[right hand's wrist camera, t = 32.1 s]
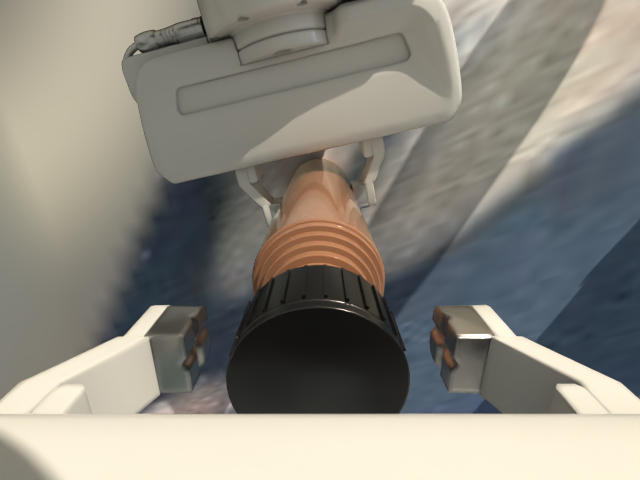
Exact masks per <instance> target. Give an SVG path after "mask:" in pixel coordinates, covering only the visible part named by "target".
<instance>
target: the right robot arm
mask: <svg viewBox="0 0 640 480" xmlns="http://www.w3.org/2000/svg"><path fill="white" fill-rule="evenodd" d="M207 319H208V318H207V312H206V309H205V307H204V306H178V305H171V306H170V305H154V306H151V307H150V308H149V309H148V310H147V311H146V312H145V313H144V314H143V315H142V316H141V318H140V319H139V320H138V321H137V322H136V323H135V324H134V325H133V326H132V328H131V329H130V330H129V331H128V332H127V333H126V334H125V335H124V336H123V337H116V338H114V339H112V340H110V341H107V342H105V343H103V344H101V345H99V346H97V347H95V348H92V349H90V350H88V351H86V352H84V353H82V354H80V355H77V356H75V357H73V358H71V359H69V360H67V361H65V362H62V363H60V364H58V365H56V366H54V367H52V368H50V369H47V370H45V371H43V372H41V373H39V374H37V375H35V376H32V377H30V378H28V379H26V380H24V381H22V382H20V383H19V384H17V386H15V387H14V388H13V389H12V390H11V391H10V392H8V393H7V394H6V395H5V396H4V397H3V398H2V399H1V400H0V480H640V399H638V398H637V397H636V396H635V395H634V394H633V393H632V392H631V391H629V390H628V389H627V388H626V387H625V386H624V385H623V384H622V383H620V382H618V381H616V380H614V379H612V378H609V377H607V376H605V375H603V374H601V373H599V372H597V371H595V370H592V369H590V368H588V367H586V366H584V365H582V364H580V363H577V362H575V361H573V360H571V359H569V358H567V357H565V356H562V355H560V354H558V353H556V352H554V351H552V350H550V349H548V348H545V347H543V346H541V345H539V344H537V343H535V342H533V341H530V340H528V339H526V338H524V337H516V335H515V334H514V333H513V332H512V331H511V330H510V329H509V328H508V326H507V325H506V324H505V323H504V322H503V321H502V320H501V319H500V318H499V316H498V315H497V314H496V313H495V312H494V311H493V310H492V309H491V308H490V307H489V306H487V305H473V306H437V307H435V309H434V311H433V318H432V319H433V321H434V323H435V325H436V327H435V328H434V329H433V330H432V331H431V333H430V351H431V355H432V358H433V360H434V362H435V364H436V365H438V366H439V367H441V372H440V375H441V378H442V380H443V382H444V384H445V386H446V388H447V390H448V392H458V393H480V395H481V396H482V397H483V398H484V399H486V400H487V401H488V402H489V403H490V404H492V405H493V406H494V407H495V408H496V409H498V410H499V411H500V412H501V413H503V414H138V413H139V412H140V411H141V410H142V409H144V408H145V407H146V406H147V405H148V404H150V403H151V402H152V401H153V400H155V399H156V398H157V397H158V396H159V395H160V393H181V392H192V390H193V388H194V386H195V384H196V382H197V380H198V378H199V375H200V372H199V367H201V366H202V365H204V364H205V362H206V360H207V358H208V355H209V350H210V333H209V331H208V330H207V329H206V328H205V327H204V325H205V323H206V321H207Z"/></svg>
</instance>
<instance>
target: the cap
mask: <svg viewBox="0 0 640 480" xmlns="http://www.w3.org/2000/svg"><path fill="white" fill-rule="evenodd" d="M404 351H406V349H405V346H404V344H403V341H402V338H401V335H400V333H399V330H398V327H397V325H396V322H395V319H394V316H393V314H392V311H390V309H389V306H388V303H387V301H386V298H385V297H382V296H381V294H380V293H379V291H378V290H377V289H376V286H375V285H374V284H373V285H372V284H371V283H369V282H368V281H367V280H365V279H364V278H362V275H360V274H359V275H357V274H355V273H353V272H351V271H348V270H346V269H345V268H343V267H342V268H339V267H334V266H328V265H326V264H323V265H309V266H308V265H304V266H303V267H298V268H294V269H291V270H289V269H288V270H286V272H284V273H281V274H279V275H277V276H276V277H274V278H273V277H272V278H270V281H269V282H267V283H266V284H265V285H264V286H263V287H262V288H261V289H260V288H259V289H258V290H257V293H256V295H255V297H254V298H253V300H252V302H251V301H249V303H248V306H247V308H246V311H245V313H244V316H243V319H242V321H241V324H240V327H239V329H238V332H237V334H236V337H235V340H234V343H233V346H232V348H231V351H230V354H229V356H231V357H230V360H229V363H228V367H227V375H226V382H227V390H228V395H229V398H230V401H231V403H232V406H233V408H234V409H235V411H236V413H237V414H399V413H400V412H401V410H402V408H403V406H404V404H405V401H406V398H407V395H408V391H409V385H410V373H409V367H408V363H407V360H406V357H405V354H404Z"/></svg>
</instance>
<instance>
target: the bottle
mask: <svg viewBox="0 0 640 480" xmlns="http://www.w3.org/2000/svg"><path fill="white" fill-rule="evenodd" d="M323 264H326V265H328V266H334V267H339V268H342V267H343V268H345V269H346V270H348V271H351V272H353V273H355V274H357V275H359V274H360V275H362V278H364V279H365V280H367V281H368V282H369V283H371V284H372V285H373V284H374V285H375V286H376V289H377V290H378V291H379V293H380V294H381V296H382V297H383V294H384V286H385V270H384V265H383V261H382V259H381V256H380V253H379V251H378V249H377V247H376V244H375V242H374V240H373V237H372V235H371V233H370V230H369V228H368V226H367V223H366V221H365V219H364V216H363V214H362V212H361V209H360V207H359V205H358V202H357V200H356V198H355V196H354V193H353V191H352V189H351V186H350V184H349V182H348V179H347V177H346V175H345V173H344V171H343V170H342V169H341V168H340V167H339V166H338V165H337V164H335V163H334V162H332V161H329V160H326V159H313V160H310V161H307V162H305V163H304V164H302V165H301V166H300V167H299V168H298V169H297V170H296V171H295V173H294V175H293V177H292V179H291V181H290V184H289V186H288V188H287V190H286V192H285V195H284V197H283V199H282V201H281V204H280V206H279V208H278V210H277V213H276V215H275V217H274V219H273V221H272V224H271V226H270V228H269V230H268V233H267V235H266V237H265V239H264V241H263V244H262V246H261V248H260V250H259V253H258V255H257V257H256V260H255V263H254V267H253V276H252V278H253V291H254V296H255V295H256V293H257V290H258V289H259V288H260V289H261V288H262V287H263V286H264V285H265V284H266V283H267V282H269V281H270V278H272V277H273V278H274V277H276V276H277V275H279V274H281V273H284V272H286V270H288V269H289V270H291V269H294V268H298V267H303V266H304V265H308V266H309V265H323Z"/></svg>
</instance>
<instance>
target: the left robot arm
mask: <svg viewBox="0 0 640 480" xmlns="http://www.w3.org/2000/svg"><path fill="white" fill-rule="evenodd" d="M197 3H198V7H199V10H200V13H201V16H200V17H198V18H197V17H196V18H193V19H190V20H187V21H183V22H179V23H176V24H174V25H171V26H170V27H167V28H164V29H160V30H157V31H155V30H149V31H145V32H142V33H140V34H138V35H136V36H135V37H134V41H135V43H133V44H132V45H131V46H129V48H128V49H127V50H126V52H125V55H124V58H123V61H122V70H123V74H124V76H125V79H126V82H127V84H128V87H129V90H130V92H131V95H132V96H133V98H134V100H135V101H136V102H137V103H138V108H139V113H140V117H141V122H142V126H143V130H144V134H145V138H146V142H147V145H148V149H149V152H150V155H151V158H152V162H153V164H154V167H155V169H156V171H157V172H158V173H159V174H160V175H161V176H163V177H164V178H165V179H167V180H168V181H169V182H171V183H174V184H176V183H181V182H185V181H189V180H194V179H198V178H203V177H207V176H211V175H216V174H220V173H225V172H229V171H233V170H234V171H235V174H236V178H237V181H238V184H239V187H240V188H241V189H242V190H243V191H244V192H245V193H246V194H247V195H248V196H250V197H251V198H252V199H253V200H254V201H255V202H256V203H257V204H258V205H259V206H262V209H263V212H264V216H265V219H266V223H267V226H268V227H269V228H270V226H271V224H272V221H273V219H274V217H275V215H276V213H277V210H278V208H279V206H280V204H281V201H282V199H283V197H280V198H275V199H273V197H272V196H271V195H270V194H269V193H268V192H267V191H266V190H265V189H264V187H263V186H262V185H261V184H260V183H259V182H258V181H259V180H260V178H261V177H262V176H263V174H262V171H261V167H260V164H264V163H268V162H273V161H277V160H281V159H286V158H290V157H295V156H299V155H303V154H308V153H312V152H317V151H321V150H325V149H330V148H334V147H338V146H343V145H347V144H352V143H356V142H359V146H360V151H361V154H362V155H363V156H364V157H366V158H368V159H367V162H366V165H365V168H364V170H363V173H362V176H361V180H357V181H353V182H350V184H351V189H352V191H353V193H354V196H355V198H356V200H357V202H358V205H359V207H360V209H361V208H366V207H371V206H376V198H375V192H374V186H373V182H375V179H376V177H377V174H378V171H379V169H380V166H381V164H382V161H383V158H384V156H385V150H384V143H383V136H387V135H391V134H395V133H400V132H404V131H409V130H413V129H417V128H422V127H426V126H430V125H435V124H439V123H443V122H448V121H450V120H451V119H452V118H453V116H454V114H455V113H456V111H457V109H458V107H459V105H460V103H461V100H462V87H461V76H460V68H459V61H458V54H457V49H456V43H455V38H454V33H453V29H452V24H451V20H450V16H449V14H448V11H447V9H446V6H445V4H444V3H443V1H442V0H197ZM137 50H139V51H140V52H141V53H142V54H138V55H134V56H133V54H134V53H135V52H136V51H137Z"/></svg>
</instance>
